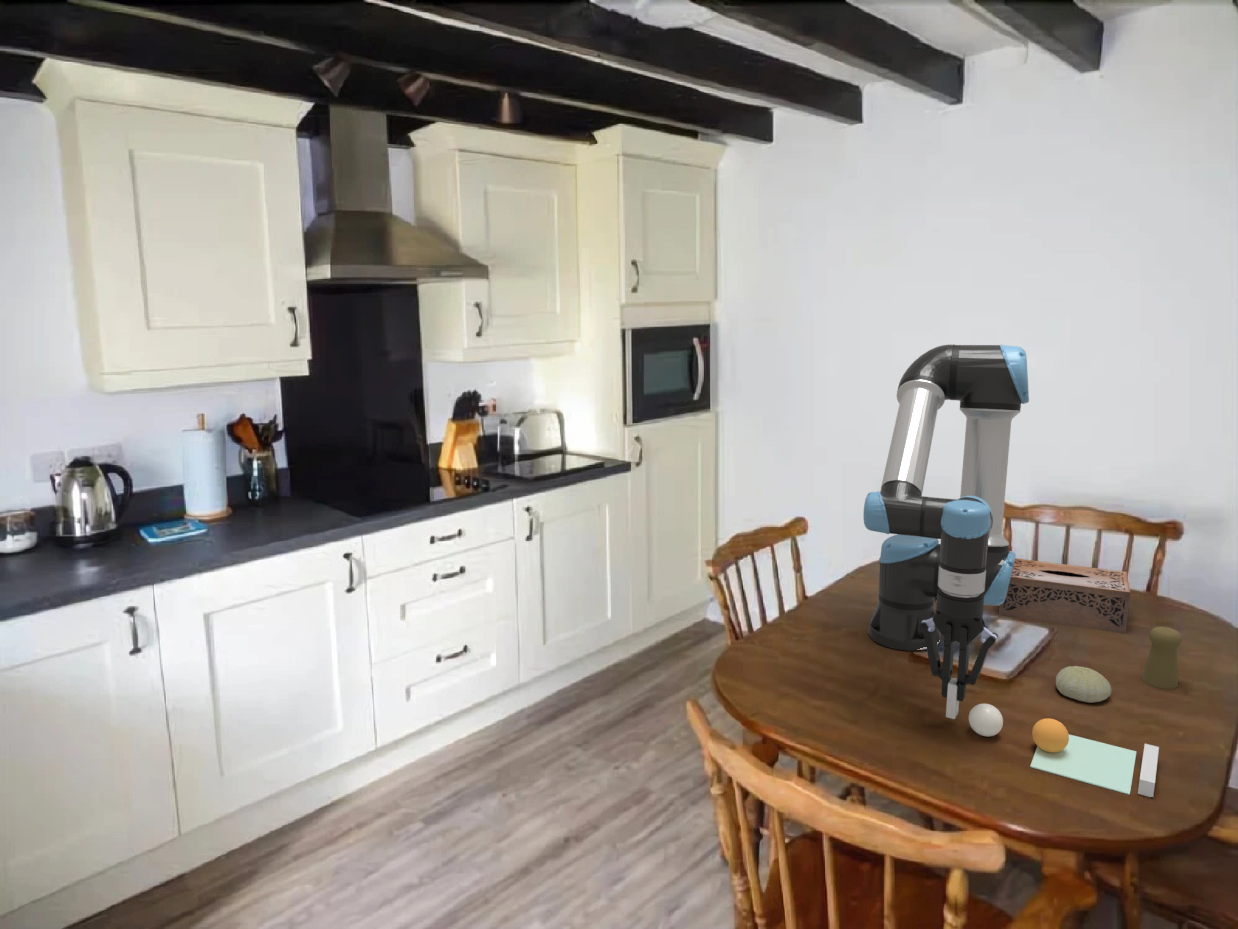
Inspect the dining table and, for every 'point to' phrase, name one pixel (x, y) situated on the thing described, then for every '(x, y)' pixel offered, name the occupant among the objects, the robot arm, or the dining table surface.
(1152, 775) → the stopper
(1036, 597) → the tissue box cover
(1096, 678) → the sea urchin shell
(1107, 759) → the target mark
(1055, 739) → the orange ball
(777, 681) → the dining table surface
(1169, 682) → the cork
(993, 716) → the cue ball
